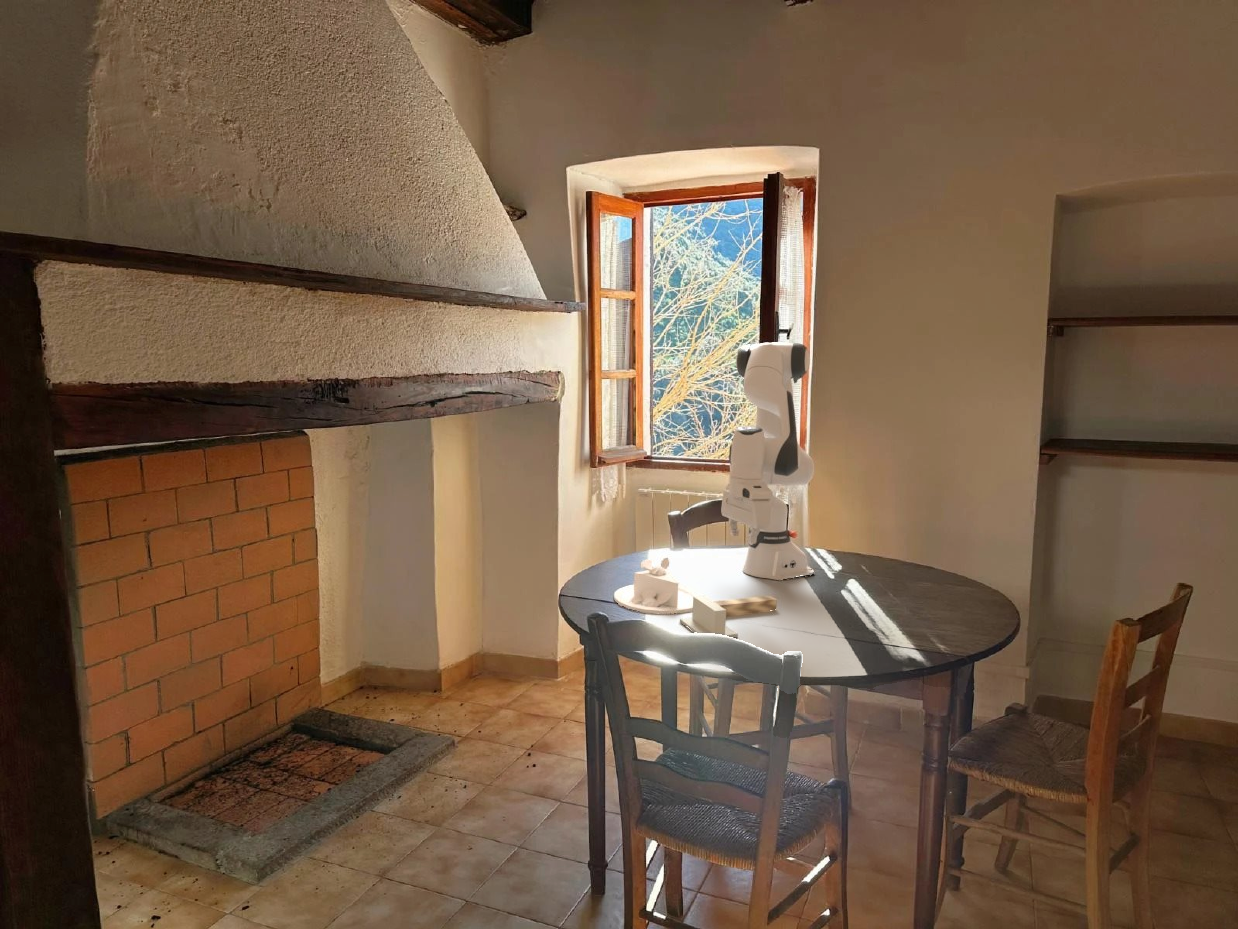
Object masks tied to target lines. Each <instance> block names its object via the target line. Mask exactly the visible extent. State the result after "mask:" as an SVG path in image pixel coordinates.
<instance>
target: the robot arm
mask: <svg viewBox="0 0 1238 929" xmlns="http://www.w3.org/2000/svg"><path fill="white" fill-rule="evenodd" d="M810 357H811V356H810V353H809V351H808V348H807V347H806V345H805V344H802V343H798V342H793V343H790V342H763V343H759V344H758V343H756V344H745V345H743V346H741V347H740V348H739V349H738V351H737V355H736V358H735V365H736V369H737V374H739V375H740V376H741V378H743V392H744V395H745V397H746V399H747V400H748V401H749V402H750V403H751V404H752V405H754V406H756V417H755V418H756V419H755V421H756V422H755V426H754V425H742V426H738V427H737V428H735V429H734V433H733V437H732V443H731V444H730V446H729V451H728V452H729V454H728V462H729V471H730V473H729V480H728V481H729V483H728V484H727V486H726V487H725V490H724V492H723V494H722V498H721V499H722V500H721V509H720V511H721V512H720V513H721V515H722V517H725V518H728V525H729V528H730V531H729V532H730V535H731V536H733V537H738V536H739V532H740V529H739V528H738V523H740V524H742V525H745V526H748V536H747V542H748V546H747V547H748V548H747V554H746V558H745V562H744V564H743V568H742V571H743V573H744V574H746V575H748V576H752V577H755V578H756V577H757V578H763V579H771V580H776V581H784V580H783V579H787V578H793V577H796V576H800V575H806V574H809V573H813V572H814V573H815V571H814V569H813V568H812V567H810V566H809V565H808V559H807V558H808V557H807V555H806V553H805V552H804V551H803V550H801V549H800V548H799V547H798V546H797V545H796V544H795V543H794V542H793V541H792V540H791V539H796V538H797V537H798V533H797V532H796V531H793V530H791V531H790V530H788V529H787V520H788V519H787V518H788V506H787V504H786V502H785V501H784V500H783V499H781V498H780V497H778V496H776V495H774V494H773V491H772V490H771V489H770V488H769V486H778V487H779V486H780V487H797V486H805V485H808V484H809V483H810V482H811V481H812V479H813V477H814V475H815V469H816V468H815V463H814V460H813V458H812V457H811V456H810V454H808V453H807V452H806V451H805V450H804V449H803V448H802V447H801V446H800V444H799V443H798V442H799V441H798V433H797V422H796V411H795V410H796V409H795V406H794V405H795V403H794V393H793V391H794V390H793V383H794V384H797V383H798V380H800V379H802V378H803V377H804V376H805V375H806V374H807V372H808V369H809V367H810V363H811V361H810V360H811V358H810ZM792 379H793V383H792ZM811 569H812V570H811ZM793 579H794V578H793ZM787 580H788V579H787Z"/></svg>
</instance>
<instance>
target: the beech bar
mask: <svg viewBox="0 0 1238 929" xmlns="http://www.w3.org/2000/svg"><path fill="white" fill-rule="evenodd" d="M712 601H713V600H712ZM713 602H715V603H716V604H718V605H719V606H721V607H722V608H724V609H725V610H726V617H732V616H742V614H743V615H750V613H752V614H759V612H761V613H765V612H764V611H770V610H775V609H776V610H777V606H778V605H777V603H778V599H777V598H775V597H773V596H772V595H764V596H753V597H745V598H735V599H734V598H733V599H724V600H715V601H713ZM770 612H771V611H770Z"/></svg>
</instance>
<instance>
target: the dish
mask: <svg viewBox="0 0 1238 929" xmlns="http://www.w3.org/2000/svg"><path fill="white" fill-rule="evenodd" d="M639 566H640V569H644V571H643V570H642V571H636V572H634V573H633V584H629V585H626V586H623V587H619V588H618V589H617V590H615V591H614V596H613V597H614V598H613V600H615V601H616V602H617V603H618V605H619V606H620V607H622V606H624V607H626V608H625V609H627V608H628V609H627V610H629V609H633V610H637V611H636V612H638V611H640V612H639V613H642V614H643V613H644V614H651V613H656V614H655V615H678V614H677V613H680V614H684V613H691V612H693V596H703V595H702V594H701V593H700V592H698V591H696V590H694V589H692V588H689V587H686V586H681V585H679V582H678V581H677V579H676V578H675V577H674V576H673V574H672V573H671V572H670V571H669V570H668V568H669V566H670V559H669V557H665V558H663V559H662V560H661V562H660V566H659V565H654V566H653V562H652V559H644V560H642V561H641V563H640V565H639ZM615 601H614V602H615ZM616 602H615V603H616ZM617 603H616V604H617ZM624 607H623V608H624ZM633 610H632V611H633ZM657 613H659V614H657ZM666 613H667V614H666ZM670 613H671V614H670ZM674 613H676V614H674Z"/></svg>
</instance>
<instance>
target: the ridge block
mask: <svg viewBox="0 0 1238 929" xmlns="http://www.w3.org/2000/svg"><path fill="white" fill-rule="evenodd" d="M691 612H692V613H691V615H692V616H691V617H685V618H679V623H680V624H681V623H682V624H683V625H682V624H681V625H682V626H684V625H685V626H688V627H689V628H690V629H691V630H692V631H691V633H693V632H697V633H715V634H722V635H727V636H729V637H737V638H736V639H738V637H739V633H738V632H736V631H735V630H733V629H732V628H730V627H728V626H727V625H726V624H727V622H726V621H727V616H726V610H725V609H724V608H722V607H721V606H719V605H718V604H716V603H715V602H713V600H712V599H710V598H708V597H707V596H705V595H702V596H693V611H691ZM685 626H684V627H685Z"/></svg>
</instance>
